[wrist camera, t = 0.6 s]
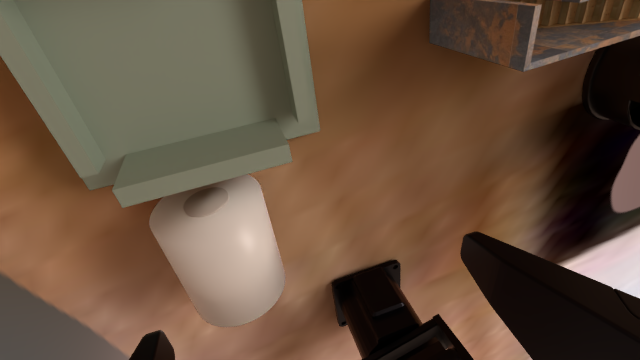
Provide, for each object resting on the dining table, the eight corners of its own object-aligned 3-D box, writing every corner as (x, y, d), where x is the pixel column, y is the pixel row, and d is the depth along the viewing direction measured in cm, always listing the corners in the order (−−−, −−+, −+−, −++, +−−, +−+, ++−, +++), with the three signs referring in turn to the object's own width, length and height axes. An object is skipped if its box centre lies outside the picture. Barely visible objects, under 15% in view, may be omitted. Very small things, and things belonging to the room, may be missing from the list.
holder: (315, 124, 21) (340, 157, 17) (94, 181, 18) (69, 232, 15) (277, -134, 14) (304, -171, 10) (-80, -97, 12) (-206, -127, 8)
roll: (273, 241, 25) (297, 304, 20) (193, 270, 24) (198, 345, 19) (249, 159, 21) (272, 214, 16) (151, 188, 20) (143, 257, 15)
